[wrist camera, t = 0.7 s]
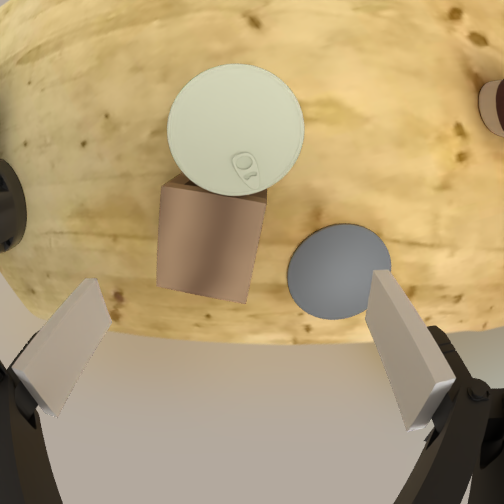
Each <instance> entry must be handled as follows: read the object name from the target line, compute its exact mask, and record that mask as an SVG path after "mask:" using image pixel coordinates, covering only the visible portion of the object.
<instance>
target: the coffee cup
mask: <svg viewBox="0 0 504 504" xmlns="http://www.w3.org/2000/svg"><path fill="white" fill-rule="evenodd" d="M479 109H480V113H481V117H482V119H483V121H484V123H485V125H486V126H487V127H488V129H489V130H490V131H491V132H493V133H494V134H496V135H499V136H502V137H504V79H503V80H497V81H490V82H488V83H486V84H485V85H484V86H483V87H482V89H481V91H480V94H479Z"/></svg>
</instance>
